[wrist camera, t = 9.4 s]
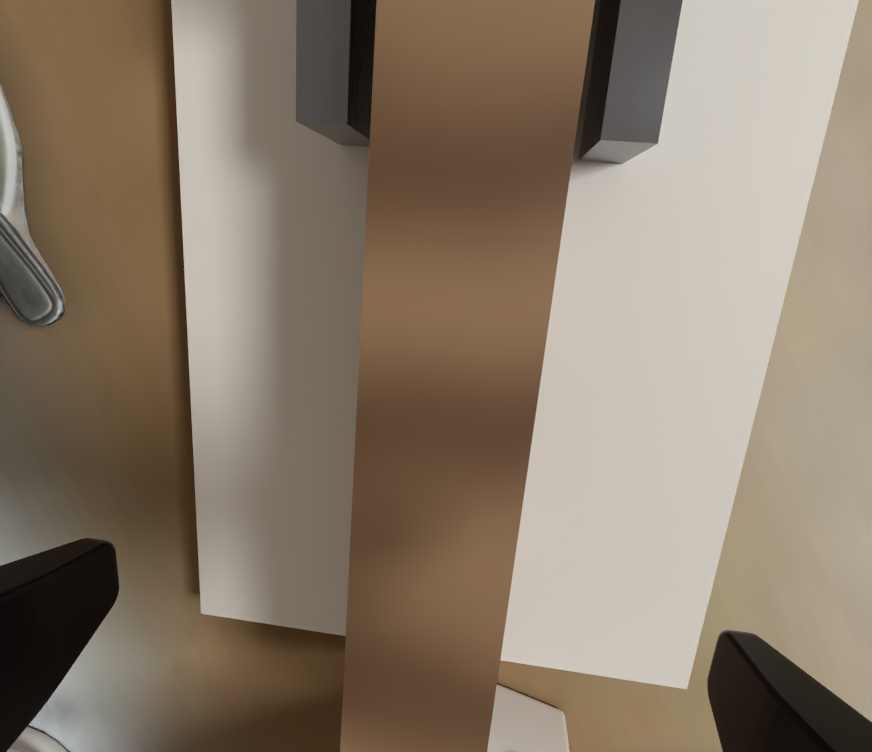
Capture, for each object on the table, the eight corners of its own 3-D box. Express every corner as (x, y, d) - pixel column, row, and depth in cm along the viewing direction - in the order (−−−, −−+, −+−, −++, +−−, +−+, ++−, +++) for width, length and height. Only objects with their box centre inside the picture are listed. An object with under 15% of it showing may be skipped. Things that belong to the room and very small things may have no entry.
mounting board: (676, 663, 20) (686, 689, 19) (217, 593, 22) (201, 613, 21) (850, -66, 14) (882, -93, 13) (191, -82, 16) (165, -108, 14)
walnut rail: (483, 678, 20) (477, 820, 15) (377, 660, 20) (337, 793, 15) (576, -11, 14) (614, -138, 9) (423, -18, 14) (383, -144, 9)
